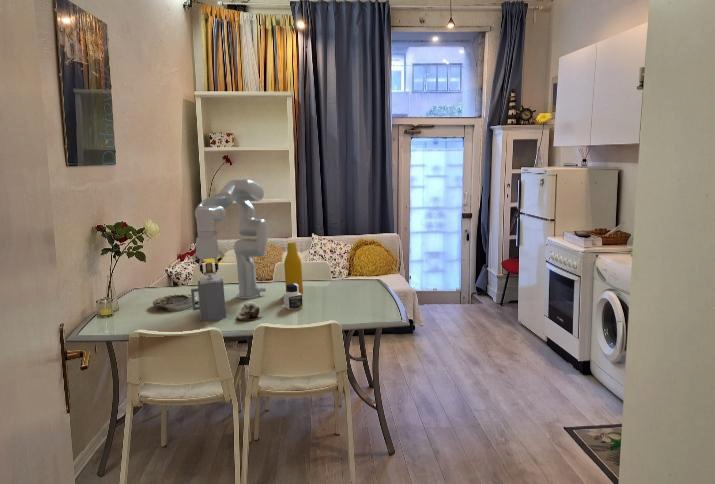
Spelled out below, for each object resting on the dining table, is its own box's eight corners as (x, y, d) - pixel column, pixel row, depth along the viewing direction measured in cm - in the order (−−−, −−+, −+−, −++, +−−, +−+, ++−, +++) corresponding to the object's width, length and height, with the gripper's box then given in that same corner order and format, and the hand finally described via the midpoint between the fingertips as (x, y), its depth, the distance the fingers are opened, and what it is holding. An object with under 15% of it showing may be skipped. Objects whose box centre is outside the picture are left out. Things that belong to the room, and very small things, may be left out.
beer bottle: (298, 297, 293) (295, 244, 288) (283, 296, 296) (279, 243, 291) (306, 293, 302) (303, 241, 297) (290, 292, 305) (287, 240, 300)
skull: (240, 321, 252) (234, 302, 257) (237, 331, 260) (232, 312, 265) (265, 316, 257) (259, 297, 262) (262, 326, 265) (256, 307, 270)
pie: (166, 318, 267) (165, 308, 266) (135, 310, 284) (134, 301, 283) (213, 303, 289) (212, 294, 288) (182, 297, 306) (181, 288, 305)
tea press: (225, 313, 270) (221, 275, 267) (226, 319, 259) (223, 280, 256) (193, 316, 266) (190, 278, 263) (193, 323, 255) (190, 283, 252)
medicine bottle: (289, 310, 270) (288, 286, 268) (284, 307, 276) (282, 283, 274) (303, 308, 273) (301, 284, 271) (297, 304, 280) (296, 281, 278)
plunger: (221, 307, 268) (217, 260, 264) (222, 312, 260) (218, 264, 256) (203, 309, 265) (199, 262, 261) (203, 314, 257) (199, 265, 253)
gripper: (224, 231, 262) (227, 269, 265) (186, 234, 257) (190, 272, 260) (225, 234, 255) (228, 272, 258) (186, 237, 250) (190, 275, 253)
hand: (209, 272), depth 259 cm, fingers open, 5 cm apart
